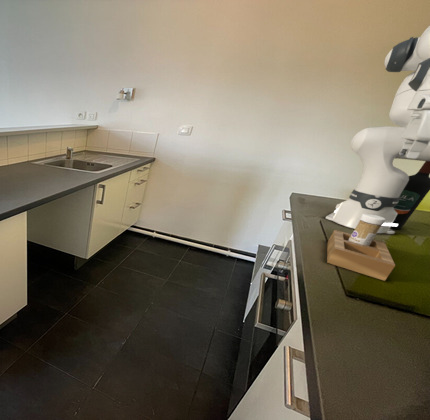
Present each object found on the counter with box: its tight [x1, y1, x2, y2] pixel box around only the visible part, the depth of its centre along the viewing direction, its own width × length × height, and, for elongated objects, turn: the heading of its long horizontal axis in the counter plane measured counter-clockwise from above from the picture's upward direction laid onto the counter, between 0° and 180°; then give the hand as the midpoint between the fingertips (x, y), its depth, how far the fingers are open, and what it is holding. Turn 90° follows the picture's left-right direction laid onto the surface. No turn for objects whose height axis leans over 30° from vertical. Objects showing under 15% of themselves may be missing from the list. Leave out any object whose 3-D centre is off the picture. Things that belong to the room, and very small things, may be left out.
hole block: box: [326, 229, 396, 282], centre depth 75 cm, size 20×11×5 cm, turn 133°
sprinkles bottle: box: [348, 214, 386, 246], centre depth 76 cm, size 5×5×14 cm
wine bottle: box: [390, 161, 430, 230], centre depth 97 cm, size 8×8×30 cm
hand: (407, 156), depth 69 cm, fingers open, 8 cm apart
